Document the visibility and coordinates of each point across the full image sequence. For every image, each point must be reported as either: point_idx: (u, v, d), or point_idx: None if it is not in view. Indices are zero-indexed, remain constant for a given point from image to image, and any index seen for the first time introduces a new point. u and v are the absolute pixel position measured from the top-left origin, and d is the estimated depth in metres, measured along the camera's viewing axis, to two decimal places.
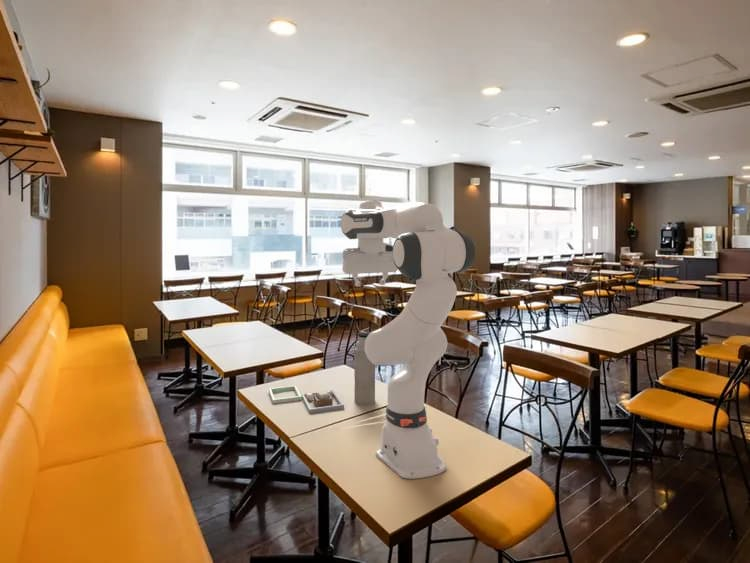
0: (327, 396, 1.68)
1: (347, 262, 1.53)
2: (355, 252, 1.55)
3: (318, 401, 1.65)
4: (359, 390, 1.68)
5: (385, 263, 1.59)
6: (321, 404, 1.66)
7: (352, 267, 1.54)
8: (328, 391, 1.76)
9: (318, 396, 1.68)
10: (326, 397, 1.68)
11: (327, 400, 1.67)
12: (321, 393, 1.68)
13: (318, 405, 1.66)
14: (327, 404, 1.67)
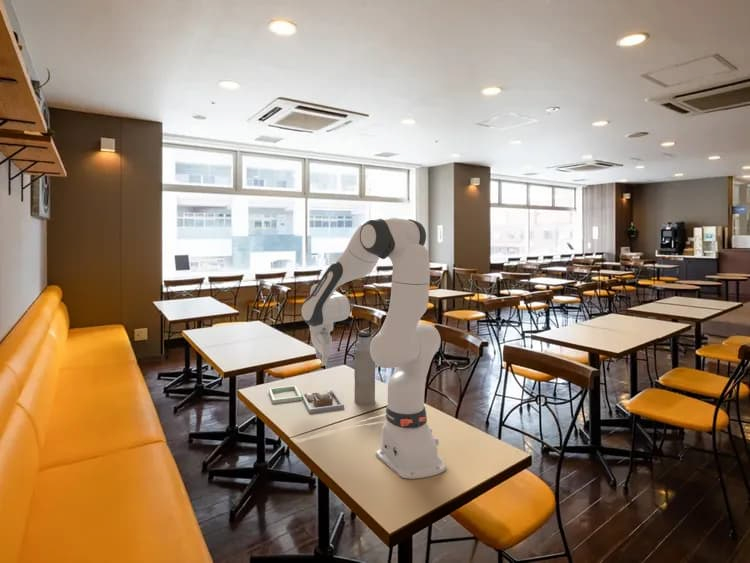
0: (327, 396, 1.68)
1: None
2: (328, 333, 1.61)
3: (318, 401, 1.65)
4: (359, 390, 1.68)
5: None
6: (321, 404, 1.66)
7: None
8: (328, 391, 1.76)
9: (318, 396, 1.68)
10: (326, 397, 1.68)
11: (327, 400, 1.67)
12: (321, 393, 1.68)
13: (318, 405, 1.66)
14: (327, 404, 1.67)
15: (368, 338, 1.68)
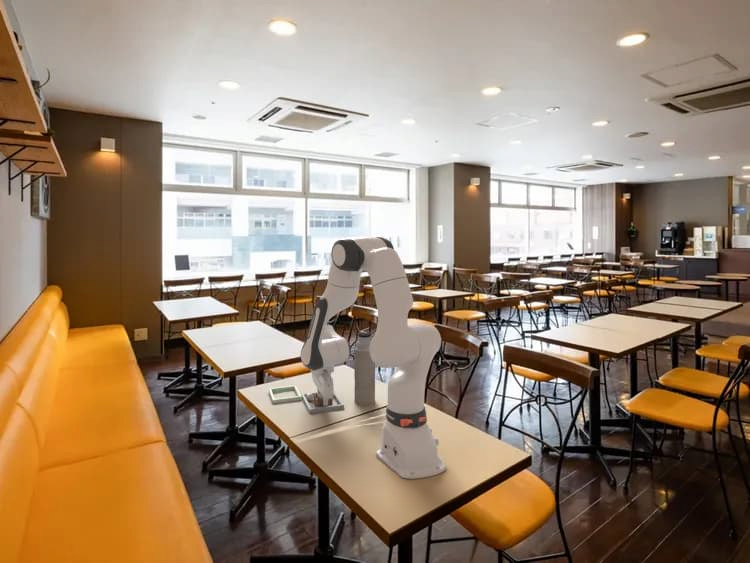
0: None
1: None
2: (329, 375, 1.62)
3: (318, 401, 1.65)
4: (359, 390, 1.68)
5: None
6: (321, 404, 1.66)
7: None
8: None
9: (318, 396, 1.68)
10: None
11: None
12: None
13: (318, 405, 1.66)
14: None
15: (368, 338, 1.68)
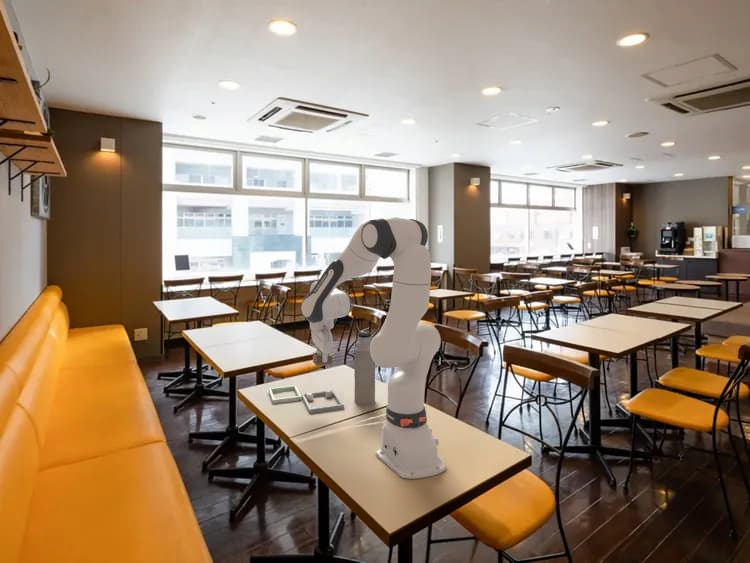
0: None
1: (332, 341, 1.58)
2: (328, 331, 1.61)
3: (317, 358, 1.63)
4: (359, 390, 1.68)
5: None
6: (320, 361, 1.64)
7: None
8: (328, 391, 1.76)
9: (317, 353, 1.67)
10: None
11: None
12: (320, 350, 1.66)
13: (317, 362, 1.64)
14: None
15: (368, 338, 1.68)
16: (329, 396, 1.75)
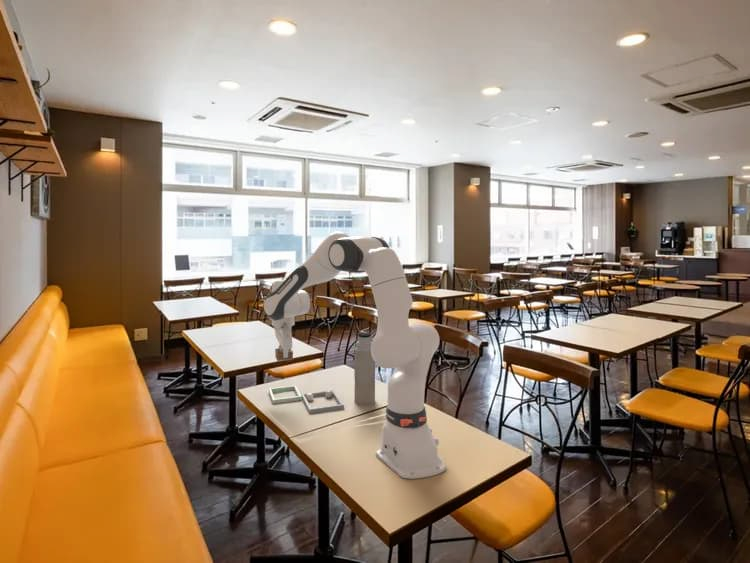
0: None
1: (291, 338, 1.67)
2: (288, 328, 1.69)
3: (278, 353, 1.72)
4: (359, 390, 1.68)
5: None
6: (281, 356, 1.72)
7: None
8: (328, 391, 1.76)
9: (279, 349, 1.75)
10: None
11: None
12: None
13: (278, 357, 1.72)
14: None
15: (368, 338, 1.68)
16: (329, 396, 1.75)
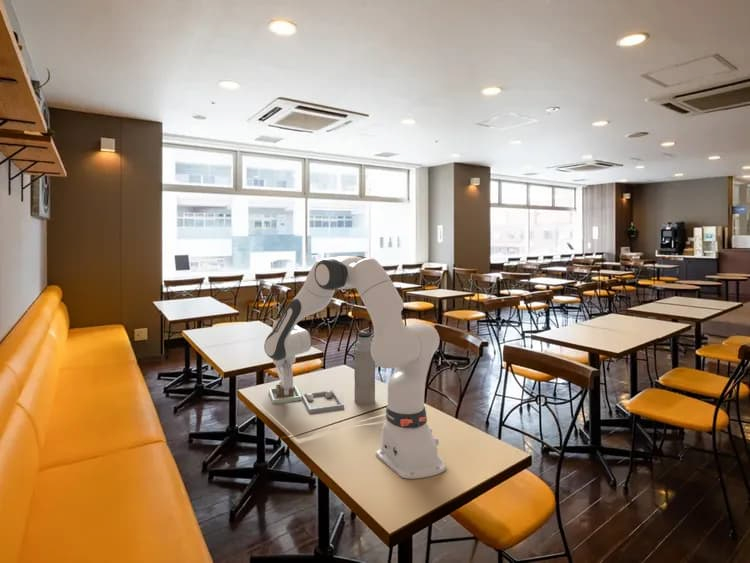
0: None
1: (292, 376, 1.68)
2: (289, 366, 1.71)
3: (279, 390, 1.74)
4: (359, 390, 1.68)
5: None
6: (282, 393, 1.74)
7: None
8: (328, 391, 1.76)
9: (280, 386, 1.77)
10: None
11: None
12: None
13: (279, 394, 1.74)
14: None
15: (368, 338, 1.68)
16: (329, 396, 1.75)
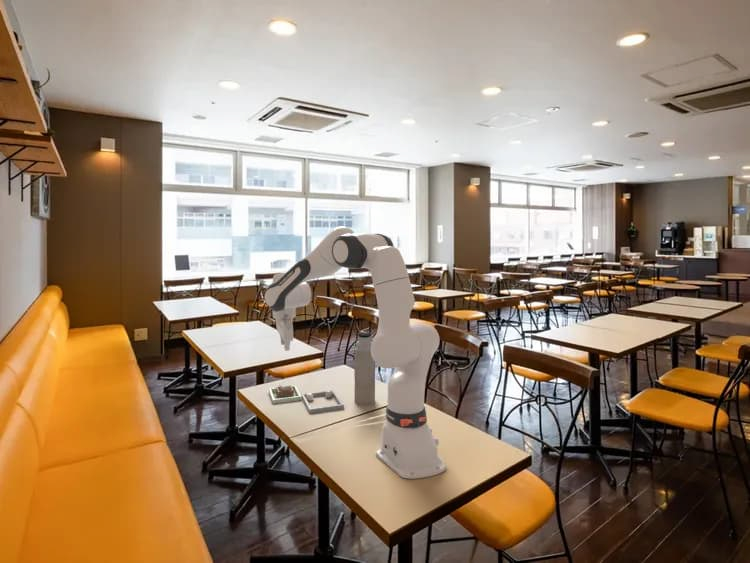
0: (289, 388, 1.76)
1: None
2: (289, 319, 1.68)
3: (279, 393, 1.74)
4: (359, 390, 1.68)
5: None
6: (282, 395, 1.74)
7: None
8: (328, 391, 1.76)
9: (280, 388, 1.77)
10: (287, 389, 1.76)
11: (288, 392, 1.75)
12: (283, 385, 1.76)
13: (279, 396, 1.74)
14: (288, 395, 1.75)
15: (368, 338, 1.68)
16: (329, 396, 1.75)
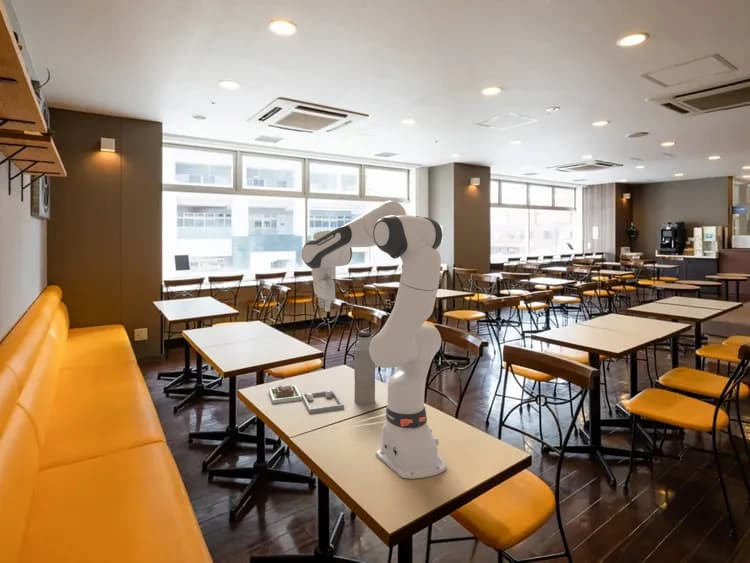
0: (289, 388, 1.76)
1: (334, 289, 1.61)
2: None
3: (279, 393, 1.74)
4: (359, 390, 1.68)
5: None
6: (282, 395, 1.74)
7: None
8: (328, 391, 1.76)
9: (280, 388, 1.77)
10: (287, 389, 1.76)
11: (288, 392, 1.75)
12: (283, 385, 1.76)
13: (279, 396, 1.74)
14: (288, 395, 1.75)
15: (368, 338, 1.68)
16: (329, 396, 1.75)
